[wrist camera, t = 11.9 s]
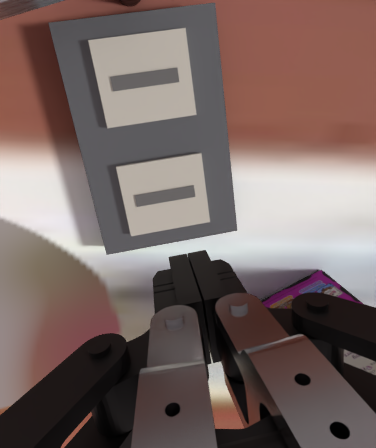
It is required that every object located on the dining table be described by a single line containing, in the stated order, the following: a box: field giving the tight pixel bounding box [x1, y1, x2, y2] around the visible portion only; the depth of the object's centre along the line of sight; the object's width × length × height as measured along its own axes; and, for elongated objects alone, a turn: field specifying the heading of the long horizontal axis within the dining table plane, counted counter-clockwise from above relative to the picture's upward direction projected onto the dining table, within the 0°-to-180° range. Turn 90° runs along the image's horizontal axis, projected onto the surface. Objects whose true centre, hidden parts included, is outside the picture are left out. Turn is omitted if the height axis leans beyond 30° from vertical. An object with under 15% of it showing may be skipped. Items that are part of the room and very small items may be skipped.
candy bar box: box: [261, 270, 376, 375], centre depth 27 cm, size 11×5×16 cm, turn 117°
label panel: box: [49, 3, 237, 255], centre depth 26 cm, size 12×18×3 cm, turn 8°
